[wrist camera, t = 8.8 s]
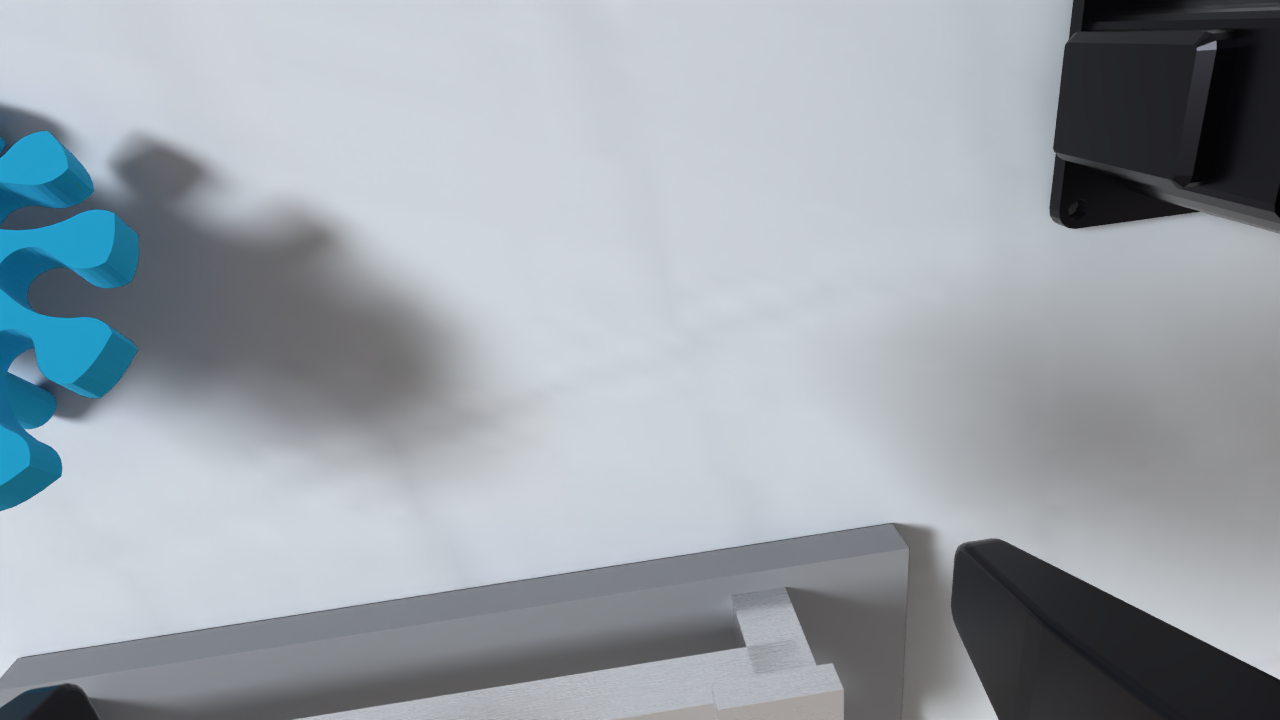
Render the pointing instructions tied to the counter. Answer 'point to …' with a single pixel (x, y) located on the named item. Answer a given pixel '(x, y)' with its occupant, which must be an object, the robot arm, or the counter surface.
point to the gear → (65, 347)
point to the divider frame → (665, 683)
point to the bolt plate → (510, 637)
